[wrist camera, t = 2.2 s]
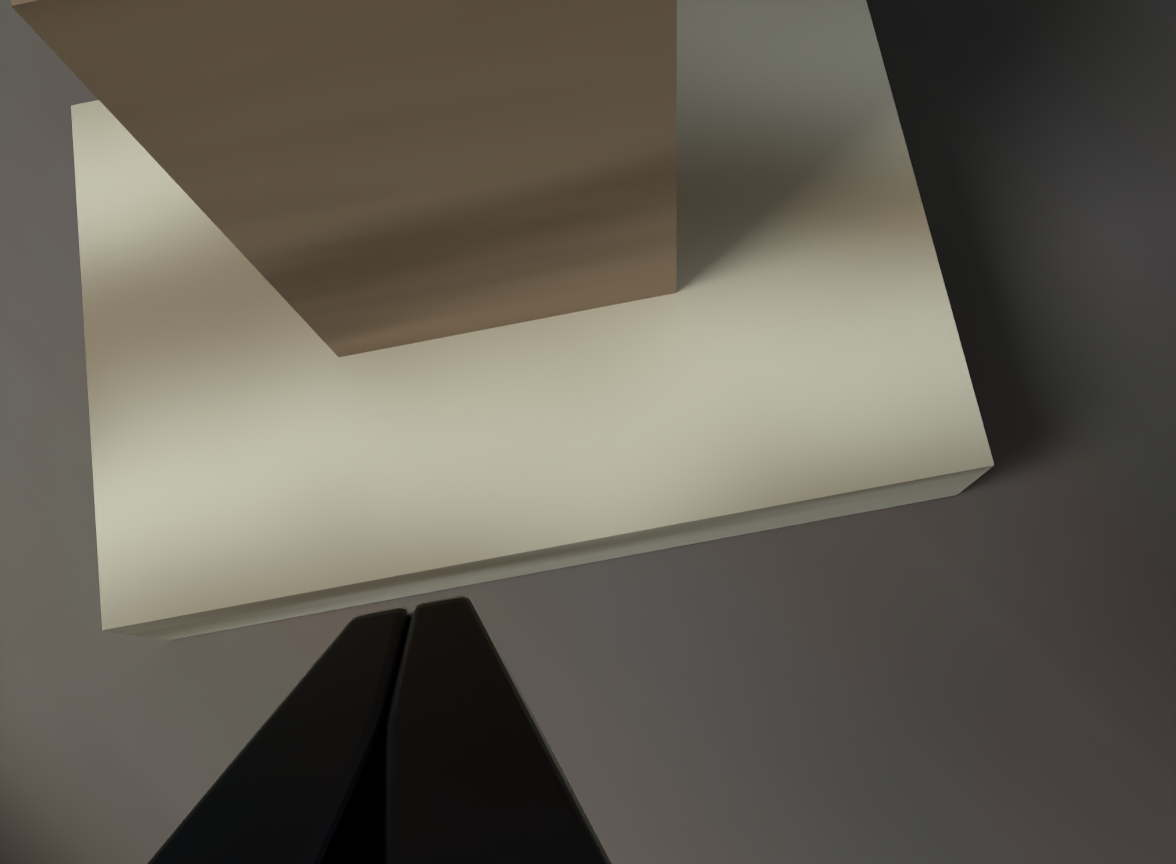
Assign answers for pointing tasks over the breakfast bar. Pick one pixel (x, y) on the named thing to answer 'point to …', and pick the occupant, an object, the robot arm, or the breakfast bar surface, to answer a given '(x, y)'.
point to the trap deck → (533, 367)
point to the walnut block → (405, 147)
